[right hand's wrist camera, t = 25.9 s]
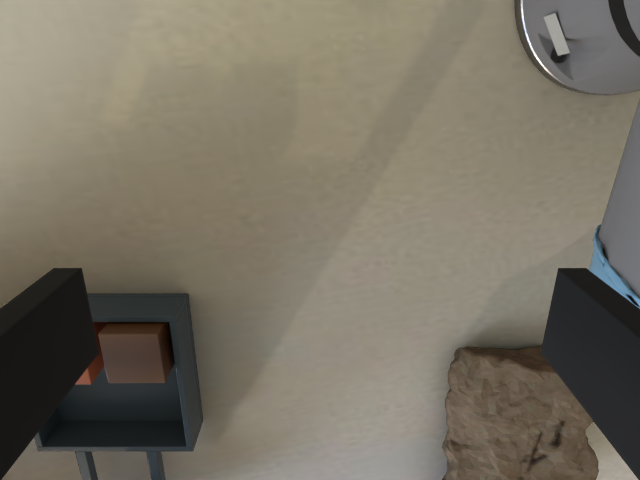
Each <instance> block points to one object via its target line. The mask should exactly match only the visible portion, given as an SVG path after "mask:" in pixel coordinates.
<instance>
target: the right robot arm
mask: <svg viewBox="0 0 640 480" xmlns="http://www.w3.org/2000/svg"><path fill="white" fill-rule="evenodd" d="M515 17H516V23H517V29H518V32H519V36H520V39H521V42H522V44H523V47H524V49H525V51H526V53H527V55H528V56H529V58H530V59H531V61H532V62H533V64H534V65H535V66H536V67H537V68H538V70H539V71H540V72H541V73H542V74H544V75H545V76H546V77H547V78H548V79H550V80H551V81H553V82H554V83H556V84H558V85H560V86H561V87H564V88H566V89H569V90H572V91H575V92H579V93H586V94H594V95H617V94H624V93H630V92H636V91H640V0H515ZM593 241H594V248H595V249H594V253H593V257H592V261H591V266H590V270H588V269H586V268H558V273H557V277H556V282H555V287H554V292H553V296H552V301H551V306H550V311H549V316H548V320H547V325H546V330H545V335H544V340H543V344H542V349H541V354H542V355H543V356H544V358H545V359H546V360H547V361H548V363H549V364H550V365H551V367H552V368H553V369H554V371H555V372H556V373H557V374H558V376H559V377H560V378H561V380H562V381H563V382H564V384H565V385H566V386H567V387H568V389H569V390H570V391H571V393H572V394H573V395H574V396H575V398H576V399H577V400H578V402H579V403H580V404H581V406H582V407H583V408H584V409H585V411H586V412H587V413H588V415H589V416H590V417H591V418H592V420H593V421H594V422H595V424H596V425H597V426H598V428H599V429H600V430H601V431H602V433H603V434H604V435H605V437H606V438H607V439H608V441H609V442H610V443H611V444H612V446H613V447H614V448H615V450H616V451H617V452H618V453H619V455H620V456H621V457H622V459H623V460H624V461H625V463H626V464H627V465H628V466H629V468H630V469H631V470H632V472H633V473H634V474H635V475H636V477H637V478H638V479H639V480H640V99H639V103H638V106H637V109H636V113H635V116H634V119H633V122H632V126H631V129H630V132H629V136H628V139H627V142H626V145H625V149H624V152H623V155H622V159H621V162H620V165H619V168H618V172H617V175H616V178H615V182H614V185H613V188H612V191H611V195H610V198H609V201H608V205H607V208H606V211H605V214H604V218H603V221H602V224H601V225H599V226H598V227H597V229H596V231H595V234H594V240H593ZM98 354H99V349H98V344H97V340H96V335H95V330H94V325H93V320H92V316H91V311H90V306H89V301H88V296H87V292H86V287H85V282H84V277H83V273H82V268H54V269H52V270H51V271H50V272H48V273H47V274H46V275H44V276H43V277H42V278H40V279H39V280H38V281H36V282H35V283H34V284H32V285H31V286H30V287H28V288H27V289H26V290H24V291H23V292H22V293H20V294H19V295H18V296H17V297H15V298H14V299H13V300H11V301H10V302H9V303H7V304H6V305H5V306H3V307H2V308H1V309H0V480H1V479H2V478H3V477H4V475H5V474H6V473H7V472H8V470H9V469H10V468H11V466H12V465H13V464H14V463H15V461H16V460H17V459H18V457H19V456H20V455H21V453H22V452H23V451H24V450H25V448H26V447H27V446H28V444H29V443H30V442H31V441H32V439H33V438H34V437H35V435H36V434H37V433H38V431H39V430H40V429H41V428H42V426H43V425H44V424H45V422H46V421H47V420H48V418H49V417H50V416H51V415H52V413H53V412H54V411H55V409H56V408H57V407H58V406H59V404H60V403H61V402H62V400H63V399H64V398H65V396H66V395H67V394H68V393H69V391H70V390H71V389H72V387H73V386H74V385H75V384H76V382H77V381H78V380H79V378H80V377H81V376H82V374H83V373H84V372H85V371H86V369H87V368H88V367H89V365H90V364H91V363H92V361H93V360H94V359H95V358H96V356H97V355H98Z"/></svg>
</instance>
